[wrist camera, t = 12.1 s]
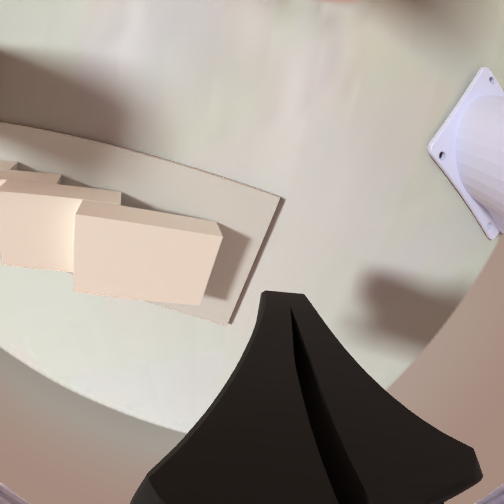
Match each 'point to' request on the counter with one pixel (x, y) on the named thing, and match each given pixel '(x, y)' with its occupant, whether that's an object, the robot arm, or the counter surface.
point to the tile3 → (29, 176)
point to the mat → (158, 200)
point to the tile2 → (43, 222)
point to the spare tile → (143, 253)
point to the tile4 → (9, 165)
